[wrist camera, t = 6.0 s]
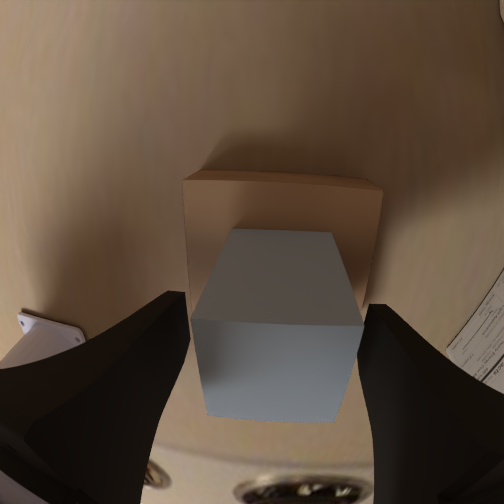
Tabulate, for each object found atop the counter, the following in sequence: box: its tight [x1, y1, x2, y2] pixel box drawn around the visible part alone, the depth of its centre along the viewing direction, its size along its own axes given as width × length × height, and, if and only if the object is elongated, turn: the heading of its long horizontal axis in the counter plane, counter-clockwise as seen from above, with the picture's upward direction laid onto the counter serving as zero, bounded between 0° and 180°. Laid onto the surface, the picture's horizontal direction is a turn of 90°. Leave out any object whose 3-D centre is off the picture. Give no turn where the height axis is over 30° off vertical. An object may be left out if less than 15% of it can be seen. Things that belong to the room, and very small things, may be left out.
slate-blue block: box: [191, 229, 364, 422], centre depth 10 cm, size 4×4×6 cm
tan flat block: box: [183, 170, 384, 314], centre depth 14 cm, size 8×8×3 cm
